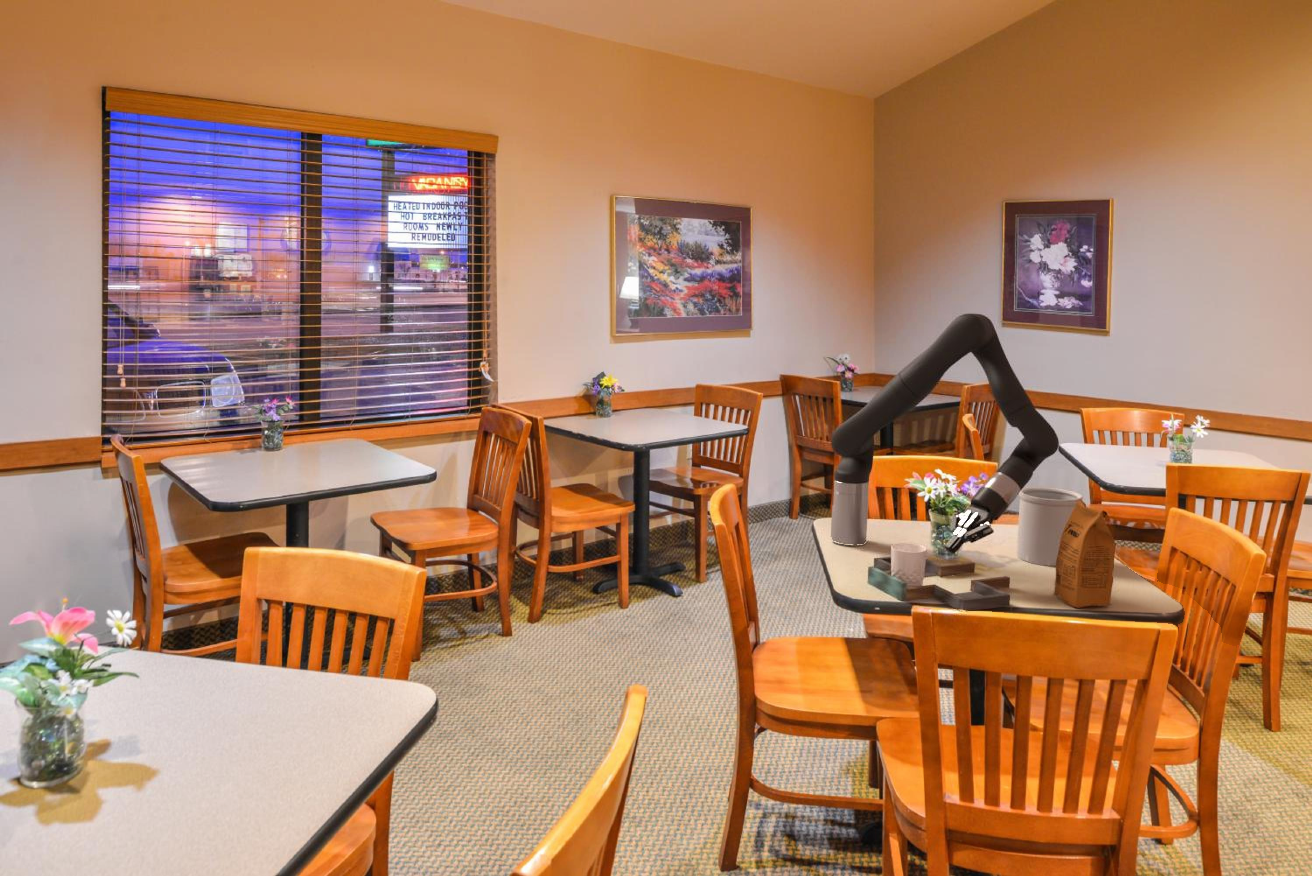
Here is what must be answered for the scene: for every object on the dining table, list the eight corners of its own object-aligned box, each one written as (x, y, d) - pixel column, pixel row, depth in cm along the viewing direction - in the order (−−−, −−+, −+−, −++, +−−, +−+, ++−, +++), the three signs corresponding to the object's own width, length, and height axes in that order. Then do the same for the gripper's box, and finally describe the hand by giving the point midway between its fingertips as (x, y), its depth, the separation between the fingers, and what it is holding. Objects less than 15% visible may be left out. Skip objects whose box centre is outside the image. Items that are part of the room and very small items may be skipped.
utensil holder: (1087, 568, 229) (1093, 499, 226) (1027, 567, 229) (1032, 498, 226) (1062, 551, 243) (1067, 487, 241) (1006, 551, 244) (1010, 486, 241)
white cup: (897, 596, 206) (900, 552, 204) (883, 585, 213) (885, 543, 212) (930, 594, 207) (933, 551, 205) (915, 583, 214) (917, 542, 213)
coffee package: (1090, 592, 210) (1099, 498, 206) (1116, 610, 197) (1125, 511, 194) (1047, 591, 210) (1054, 497, 207) (1069, 609, 198) (1077, 510, 194)
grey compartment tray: (844, 571, 224) (845, 555, 223) (944, 560, 234) (945, 545, 233) (929, 616, 192) (930, 597, 192) (1041, 601, 202) (1042, 584, 202)
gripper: (968, 480, 220) (922, 533, 218) (1006, 491, 207) (958, 548, 205) (985, 500, 222) (940, 553, 220) (1023, 512, 210) (976, 568, 208)
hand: (949, 550), depth 213 cm, fingers closed
